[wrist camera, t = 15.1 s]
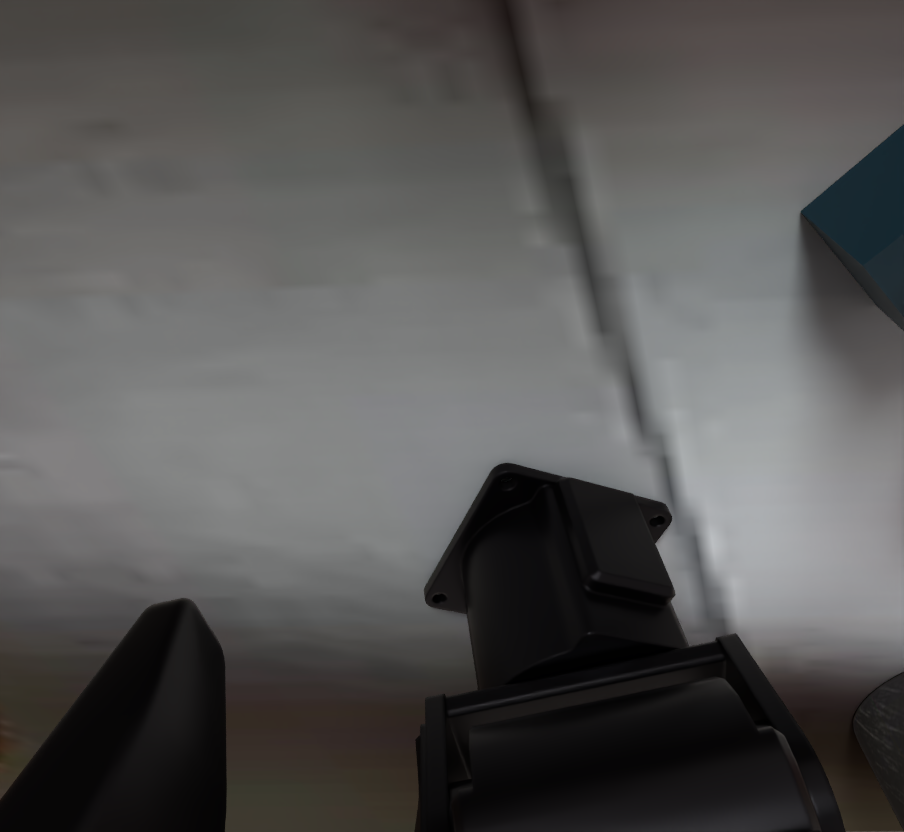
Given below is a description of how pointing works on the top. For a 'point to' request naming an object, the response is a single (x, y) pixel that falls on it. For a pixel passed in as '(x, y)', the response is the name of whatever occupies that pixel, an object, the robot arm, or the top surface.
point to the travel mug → (885, 739)
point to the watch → (869, 224)
